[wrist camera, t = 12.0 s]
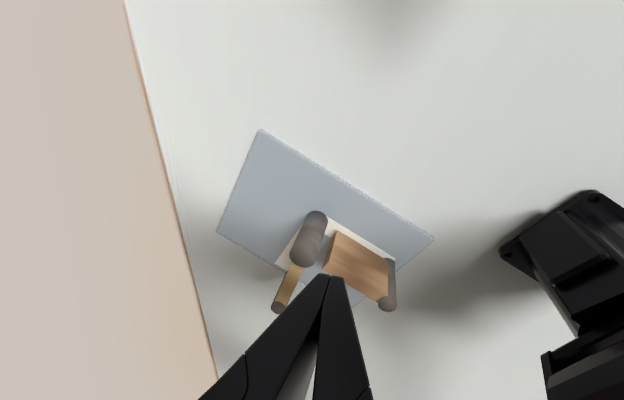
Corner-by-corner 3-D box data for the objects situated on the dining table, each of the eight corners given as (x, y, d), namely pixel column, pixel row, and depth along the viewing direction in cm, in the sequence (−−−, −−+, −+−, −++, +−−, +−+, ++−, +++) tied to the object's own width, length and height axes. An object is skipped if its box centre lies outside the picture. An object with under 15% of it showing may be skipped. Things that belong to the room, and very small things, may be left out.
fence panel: (302, 234, 21) (287, 267, 18) (315, 240, 21) (303, 274, 18) (284, 276, 24) (269, 310, 21) (295, 281, 24) (282, 316, 21)
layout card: (432, 237, 19) (433, 240, 19) (349, 306, 26) (349, 310, 25) (260, 128, 18) (258, 130, 18) (218, 229, 25) (215, 231, 24)
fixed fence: (400, 257, 21) (403, 306, 17) (386, 268, 22) (386, 318, 18) (314, 204, 20) (296, 242, 16) (303, 218, 21) (284, 258, 17)
